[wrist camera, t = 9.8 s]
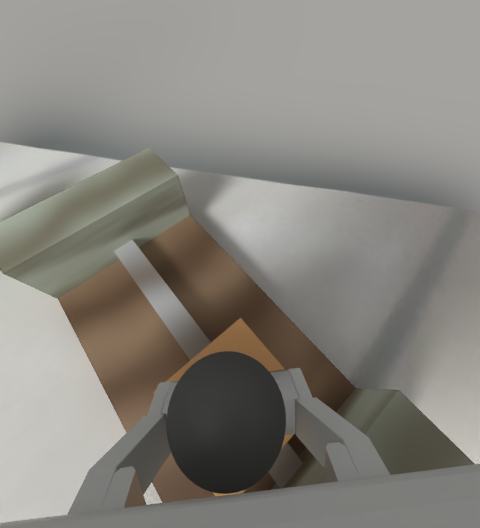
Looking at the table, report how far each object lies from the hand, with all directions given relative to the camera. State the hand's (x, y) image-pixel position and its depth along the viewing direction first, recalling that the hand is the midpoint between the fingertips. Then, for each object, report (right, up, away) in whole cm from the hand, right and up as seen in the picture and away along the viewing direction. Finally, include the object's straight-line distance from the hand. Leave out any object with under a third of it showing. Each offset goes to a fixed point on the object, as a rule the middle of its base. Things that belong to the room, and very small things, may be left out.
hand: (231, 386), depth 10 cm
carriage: (0, -3, +4) cm, 4 cm away
